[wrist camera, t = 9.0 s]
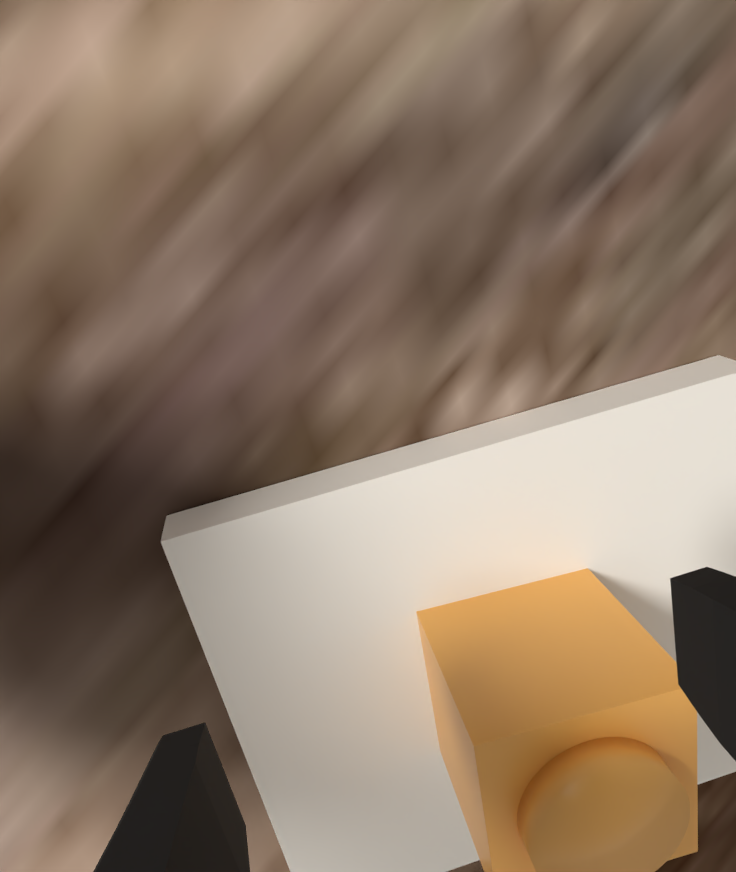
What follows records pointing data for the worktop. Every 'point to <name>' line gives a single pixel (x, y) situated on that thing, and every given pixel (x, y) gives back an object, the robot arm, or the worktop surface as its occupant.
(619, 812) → the orange cube with dome
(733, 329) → the worktop surface
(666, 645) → the plate
